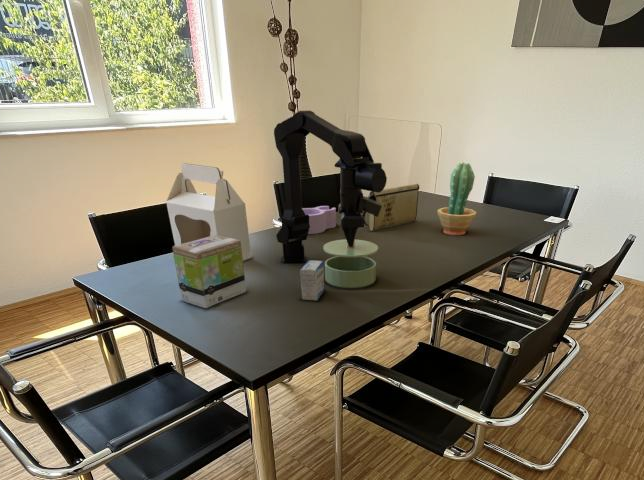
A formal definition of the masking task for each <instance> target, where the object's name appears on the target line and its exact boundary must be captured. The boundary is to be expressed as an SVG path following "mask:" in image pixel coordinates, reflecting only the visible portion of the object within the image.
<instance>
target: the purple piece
mask: <svg viewBox="0 0 644 480" xmlns="http://www.w3.org/2000/svg"><path fill="white" fill-rule="evenodd" d="M302 209H303V211H304V212H305V214H306V215H309V225H310V228H309V232H308V235H317V234H321V233H323V232H325V231H326V230H328V229H333V228H336V227H337V214H336V213H337V212H336V211H337V210H336V209H337V208H336V207H331V208H330V206H329V205H320V206H319V205H318V206H315V207H302Z"/></svg>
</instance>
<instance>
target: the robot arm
mask: <svg viewBox="0 0 644 480" xmlns="http://www.w3.org/2000/svg"><path fill="white" fill-rule="evenodd" d="M310 134H311V135H313V136H315V137H316V138H318V139H320V140H321V141H322V142H324V143H326V144H328V145H329V146H330V147H331V150H332V152H333V153H334V154H335V155H336V157H338V158H339V159H338V160H337V161H336V162H335V164H334V167H335V168H339V170H340V172H339V173H340V179H339V180H340V181H339V182H340V189H339V194H340V203H339V204H338V214H340V216H339V221H340V228H341V229H342V232H343V235H344V237H345V239H346V240H347V243H348V245H349V247H353V243H354V239H355V240H356V234H357V231H358V229H359V228H365V224H364V217H363V216H362V215H363V212H364V211H365V212H366V213H368V214H369V215H370V214H373V215H374V216H376V217H378V215H379V212H380V210H381V207H382V205H381V203H380V202H379V201H377V200H376V196H375V195H373V194H370V193H369V194H370V195H368V196H365V195H364V193H363V191H367V192H371V191H372V192H377V193H379V192H381V191H382V190H384V189H386V185H387V179H388V177H387V174H386V171H385V170H384V169H383V164H382V162H375V161H374V158H373V156H372V154H371V152H370V149H369V147H368V145H367V142H366V137H365V136H364V135H363V134H362V133H358V132H355V131H351V130H344V129H341V128H339V127H337V126H336V125H334V124H333V123H331V122H329V121H327V120H326V119H324V118H322V117H321V116H319V115H318V114H316V113H315V112H314V111H312V110H299V111H297V112H295V113H294V114H293V115H292V116H290V117H289V118H286V119H285V120H283V121H281V122H278V123H277V124H276V126H275V127H274V129H273V136H274V142H275V148H276V149H277V151H278V153H279V154H280V156H281V159H282V172H283V186H284V199H285V210H284V212H283V215H282V216H281V228H280V229H279V230H278V232H277V233H276V235H275V236H276V237H275V238H276V240H277V242H278V243H280V244H282V256H283V259H282V262H283V263H303V262H304V260H305V258H306V257H305V254H306V253H305V244H304V243H303V241H306V240H308V235H309V234H308V232H309V228H310V225H309V215H306V214H305V212H304V211H303V200H302V183H301V181H302V180H301V166H300V156H301V154H302V152H303V150H304V147H305V138H306V137H307V136H308V135H310ZM362 190H363V191H362Z"/></svg>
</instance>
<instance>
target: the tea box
mask: <svg viewBox="0 0 644 480" xmlns="http://www.w3.org/2000/svg"><path fill="white" fill-rule="evenodd" d="M171 248H172V249H171V250H172V255H173V259H174V265H175V271H176V278H177V283H178V288H179V293H180V298H181V301H182V302H185V303H188V304H191V305H194V306H197V307H200V308H204V309H209V308H210V307H212V306H214V305H217V304H219V303H222V302H224V301H227V300H229V299H232V298H234V297H237V296H239V295H242V294H245V293H246V292H247V287H246V277H245V269H244V268H245V267H244V261H243V258H242V247H241V241H240V240H236V239H232V238H227V237H223V236H218V235H213V236H209V237H206V238H202V239H198V240H195V241H191V242H188V243H184V244H180V245H176V246H175V245H173V246H172V247H171Z"/></svg>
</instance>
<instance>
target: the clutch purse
mask: <svg viewBox="0 0 644 480" xmlns="http://www.w3.org/2000/svg"><path fill="white" fill-rule="evenodd" d="M419 190H420V184H419V183H415V184H408V185H402V186H397V187H396V186H395V187H391V188H384V189H383V190H382V191H381V192H379V193H377V192H372V191H369V195H370V194H373V195H375V196H376V200H377V201H379V202H380V203H381V205H382V207H381V210H380V212H379V215H378V217H376V216H374V215H373V214H370V213H369V219H368V220H369V222H368V223H369V224H367V221H366V220H365V217H366V213H367V212H365V211H363V213H362V214H361V215H362V216H363V217H364V226H367V227H369V230H370V232H373V231H378V230H382V229H385V228H390V227H394V226H398V225H402V224H403V225H404V224H407V223H411V222H416V221H417V217H418V205H419ZM369 195H368V196H369Z"/></svg>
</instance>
